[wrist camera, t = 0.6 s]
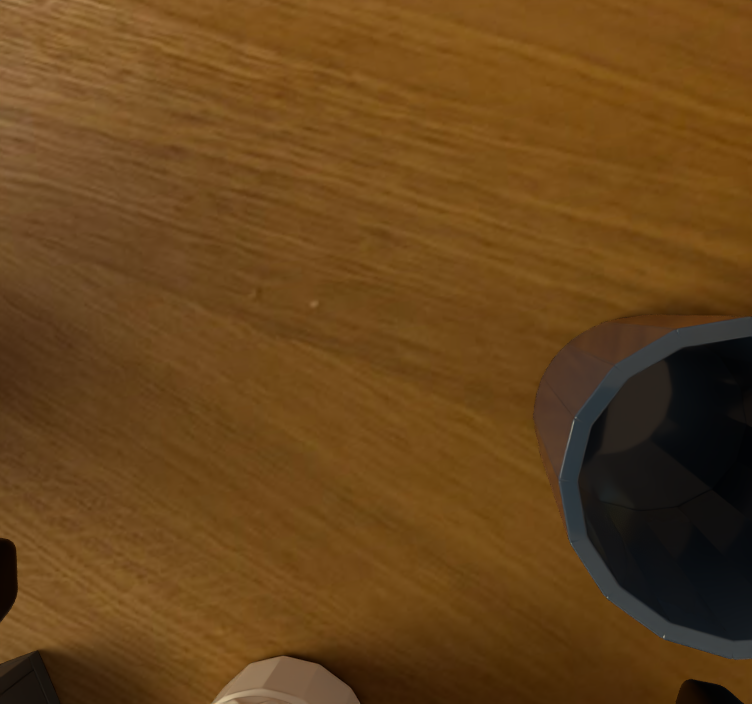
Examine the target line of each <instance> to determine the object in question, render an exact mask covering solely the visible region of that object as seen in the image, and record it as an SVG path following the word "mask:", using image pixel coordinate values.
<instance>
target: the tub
mask: <svg viewBox="0 0 752 704" xmlns="http://www.w3.org/2000/svg"><path fill="white" fill-rule="evenodd" d="M0 704H60V702H59V699H58V697H57V695H56V692H55V690H54V688H53V685H52V683H51V681H50V678H49V676H48V674H47V671H46V669H45V666H44V664H43V662H42V659H41V657H40V655H39V652H38V651H34V652H31V653H29V654H26V655H23V656H21V657H18V658H15V659H13V660H10V661H7V662H5V663H2V664H0Z"/></svg>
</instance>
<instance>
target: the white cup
mask: <svg viewBox="0 0 752 704" xmlns="http://www.w3.org/2000/svg"><path fill="white" fill-rule="evenodd" d="M211 704H360V702H359V700H358V699H357V697H356V695H355V694H354V692H353V690H352V689H351V688H350V687H349V686H348V685H347V684H345V683H344V682H343V681H341V680H340V679H339V678H337V677H336V676H335V675H333V674H332V673H331V672H329V671H328V670H327V669H325V668H324V667H323V666H321V665H320V664H317V663H312V662H308V661H304V660H300V659H296V658H291V657H287V656H279V657H275V658H271V659H267V660H262V661H258V662H254V663H250V664H249V665H247V666H246V667H245V668H244V669H243V670H242V671H241V672H240V673H239V674H238V675H237V676H236V677H234V678H233V679H232V680H231V681H230V682H229V683H228V684H227V685H226V686H225V687H224V688H223V689H222V691H221V692H220V693H219V694H218V696H217V697H216V698H215V699H214V701H213V702H212V703H211Z"/></svg>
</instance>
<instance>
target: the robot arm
mask: <svg viewBox="0 0 752 704" xmlns="http://www.w3.org/2000/svg"><path fill="white" fill-rule="evenodd" d="M17 592H18V581H17V556H16V547H15V545H14V543H13V542H12V541H10V540H8V539H4V538H0V622H1V621H2V620H3V618H4V617H5V616H6V615H7V613H8V612H9V611H10V609H11V608H12V606H13V604H14V602H15V599H16V597H17ZM676 704H744V703H742V702H741V701H740V700H739V699H738V698H737V697H735V696H734V695H733V694H732V693H731V692H730V691H728V690H727V689H726V688H725V687H723V686H721V685H718V684H713V683H708V682H703V681H698V680H693V679H689V680H686V681H684V683H683V684H682V685H681V688H680V690H679V694H678V697H677V700H676Z"/></svg>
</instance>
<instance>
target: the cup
mask: <svg viewBox="0 0 752 704" xmlns="http://www.w3.org/2000/svg"><path fill="white" fill-rule="evenodd" d="M533 415H534V416H533V418H534V424H535V432H536V436H537V440H538V446H539V452H540V455H541V458H542V461H543V464H544V467H545V470H546V473H547V476H548V479H549V482H550V485H551V488H552V491H553V494H554V497H555V500H556V503H557V506H558V509H559V512H560V515H561V518H562V521H563V524H564V527H565V530H566V533H567V536H568V539H569V541H570V544H571V546H572V547H573V549H574V550H575V552H576V553H577V555H578V557H579V558H580V560H581V561H582V563H583V564H584V566H585V567H586V569H587V570H588V572H589V574H590V575H591V577H592V578H593V580H594V581H595V583H596V584H597V586H598V587H599V589H600V590H601V592H602V594H603V595H604V596H605V597H606V598H607V599H608V600H609V601H611V602H612V603H613V604H615V605H616V606H618V607H619V608H620V609H622V610H623V611H624V612H626V613H627V614H629V615H630V616H631V617H633V618H634V619H635V620H637V621H638V622H640V623H641V624H642V625H644V626H645V627H646V628H648V629H649V630H651V631H652V632H653V633H655V634H656V635H657V636H659V637H661V638H663V639H665V640H668V641H671V642H675V643H678V644H681V645H685V646H688V647H692V648H695V649H698V650H702V651H705V652H708V653H712V654H715V655H719V656H722V657H725V658H729V659H732V658H733V659H735V660H737V659H752V316H708V315H640V316H634V317H626V318H619V319H615V320H611V321H606V322H604V323H601V324H599V325H597V326H594V327H592V328H590V329H588V330H586V331H585V332H583V333H581V334H580V335H578V336H577V337H575V338H574V339H573V340H571V341H570V342H569V343H568V344H567V345H566V346H564V347H563V348H562V349H561V350H560V352H559V353H558V354H557V355H556V356H555V357H554V359H553V360H552V361H551V363H550V364H549V366H548V368H547V369H546V371H545V373H544V375H543V377H542V379H541V382H540V384H539V388H538V391H537V394H536V400H535V406H534V413H533Z"/></svg>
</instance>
